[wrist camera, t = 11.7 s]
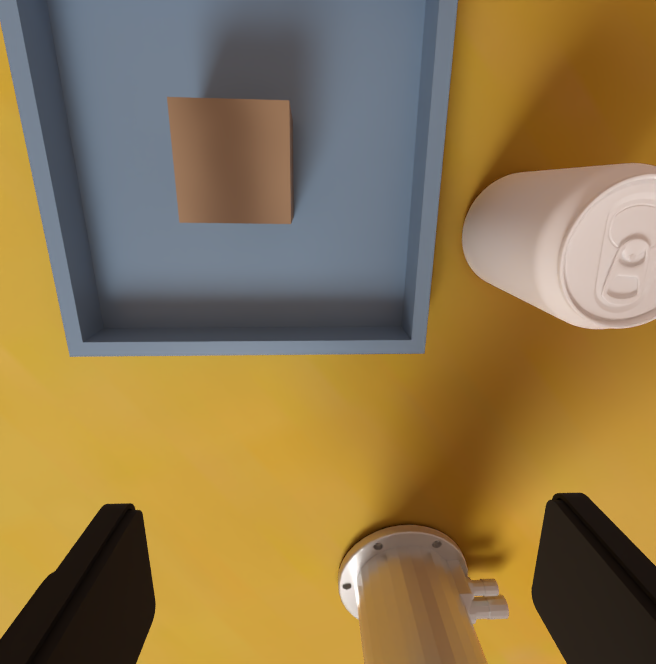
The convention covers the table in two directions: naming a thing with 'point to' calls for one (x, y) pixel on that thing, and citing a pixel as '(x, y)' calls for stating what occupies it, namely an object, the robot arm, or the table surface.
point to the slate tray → (236, 238)
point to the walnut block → (232, 160)
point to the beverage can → (570, 242)
